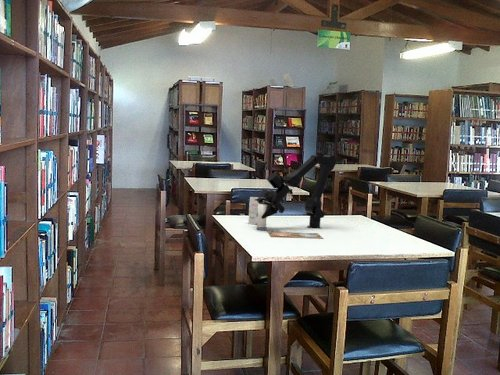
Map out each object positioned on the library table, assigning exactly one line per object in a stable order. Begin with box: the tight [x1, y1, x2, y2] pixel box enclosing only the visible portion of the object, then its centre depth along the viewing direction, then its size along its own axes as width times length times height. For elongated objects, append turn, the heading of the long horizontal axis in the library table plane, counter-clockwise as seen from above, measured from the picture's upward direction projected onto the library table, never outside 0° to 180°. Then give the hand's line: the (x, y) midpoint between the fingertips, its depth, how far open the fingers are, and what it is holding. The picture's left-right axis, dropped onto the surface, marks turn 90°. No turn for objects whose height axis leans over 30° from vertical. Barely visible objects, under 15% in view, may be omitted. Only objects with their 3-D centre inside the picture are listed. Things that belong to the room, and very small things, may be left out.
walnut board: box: [267, 231, 324, 240], centre depth 245 cm, size 13×25×1 cm, turn 95°
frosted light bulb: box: [256, 204, 267, 232], centre depth 254 cm, size 4×4×13 cm
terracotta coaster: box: [272, 231, 291, 237], centre depth 245 cm, size 9×9×1 cm
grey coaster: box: [299, 232, 318, 239], centre depth 246 cm, size 9×9×1 cm
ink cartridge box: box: [247, 196, 259, 226], centre depth 274 cm, size 9×5×15 cm, turn 74°
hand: (259, 217), depth 253 cm, fingers closed on frosted light bulb, 4 cm apart
